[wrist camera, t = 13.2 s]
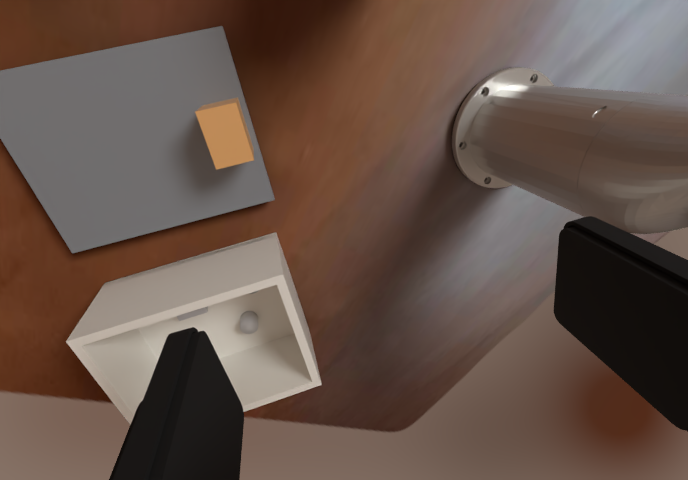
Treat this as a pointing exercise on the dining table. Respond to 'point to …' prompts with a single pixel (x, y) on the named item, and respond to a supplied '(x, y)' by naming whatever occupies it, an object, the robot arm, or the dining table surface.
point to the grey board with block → (134, 137)
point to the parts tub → (202, 324)
